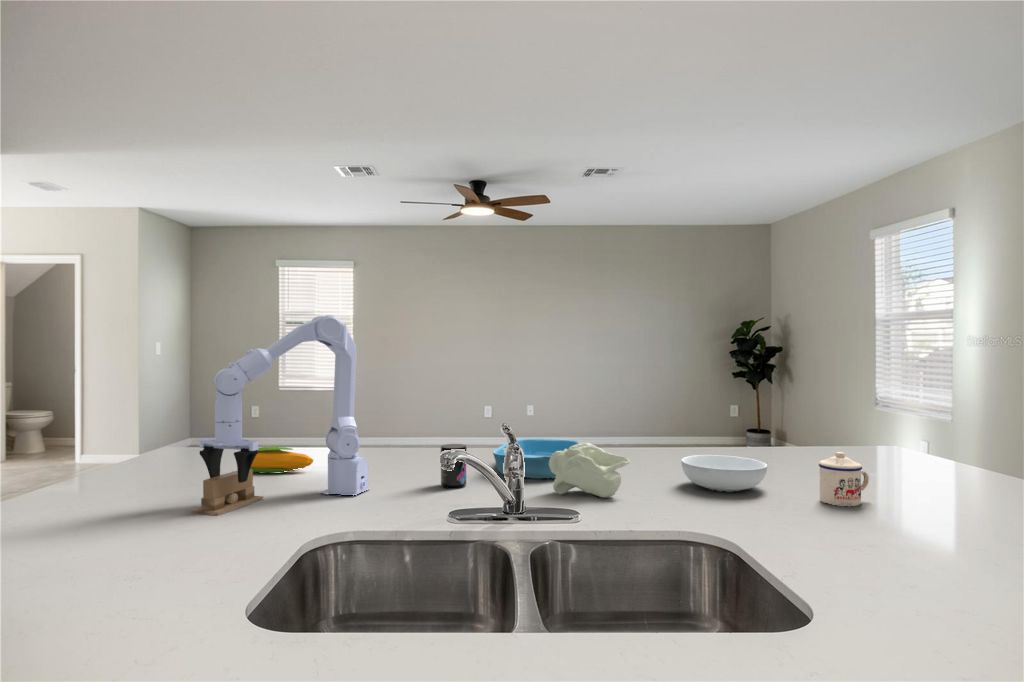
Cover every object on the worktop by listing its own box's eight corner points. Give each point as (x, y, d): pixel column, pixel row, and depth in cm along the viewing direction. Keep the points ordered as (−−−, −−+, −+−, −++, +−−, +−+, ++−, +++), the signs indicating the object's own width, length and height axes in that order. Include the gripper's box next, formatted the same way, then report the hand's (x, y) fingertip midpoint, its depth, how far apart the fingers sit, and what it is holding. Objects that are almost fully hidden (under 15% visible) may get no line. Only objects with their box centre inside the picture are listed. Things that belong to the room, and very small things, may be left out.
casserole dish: (515, 456, 211) (515, 435, 211) (584, 460, 206) (584, 437, 206) (483, 481, 175) (483, 454, 175) (565, 485, 170) (565, 458, 170)
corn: (248, 443, 189) (317, 443, 189) (249, 469, 189) (318, 469, 189) (238, 449, 181) (310, 449, 182) (238, 476, 182) (310, 476, 182)
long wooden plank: (252, 486, 154) (252, 469, 154) (213, 499, 142) (213, 481, 142) (242, 485, 155) (242, 468, 155) (202, 498, 142) (202, 480, 142)
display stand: (263, 498, 154) (263, 485, 154) (218, 515, 140) (217, 501, 140) (238, 496, 156) (238, 484, 156) (191, 512, 142) (191, 498, 142)
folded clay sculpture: (605, 518, 162) (631, 461, 165) (604, 518, 150) (632, 457, 152) (541, 485, 167) (567, 430, 169) (535, 482, 155) (563, 424, 157)
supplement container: (454, 490, 163) (454, 449, 163) (435, 486, 167) (435, 446, 167) (472, 485, 169) (471, 445, 169) (452, 482, 173) (452, 443, 173)
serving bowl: (780, 498, 156) (780, 469, 156) (692, 498, 156) (692, 469, 156) (750, 479, 176) (750, 454, 176) (673, 479, 177) (673, 453, 177)
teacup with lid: (836, 508, 146) (836, 456, 146) (810, 498, 155) (810, 449, 155) (882, 505, 149) (882, 454, 148) (854, 496, 157) (854, 448, 157)
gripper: (189, 422, 146) (189, 482, 146) (243, 424, 142) (243, 486, 142) (212, 418, 153) (212, 476, 153) (264, 420, 149) (264, 479, 149)
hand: (228, 480), depth 148 cm, fingers open, 7 cm apart
